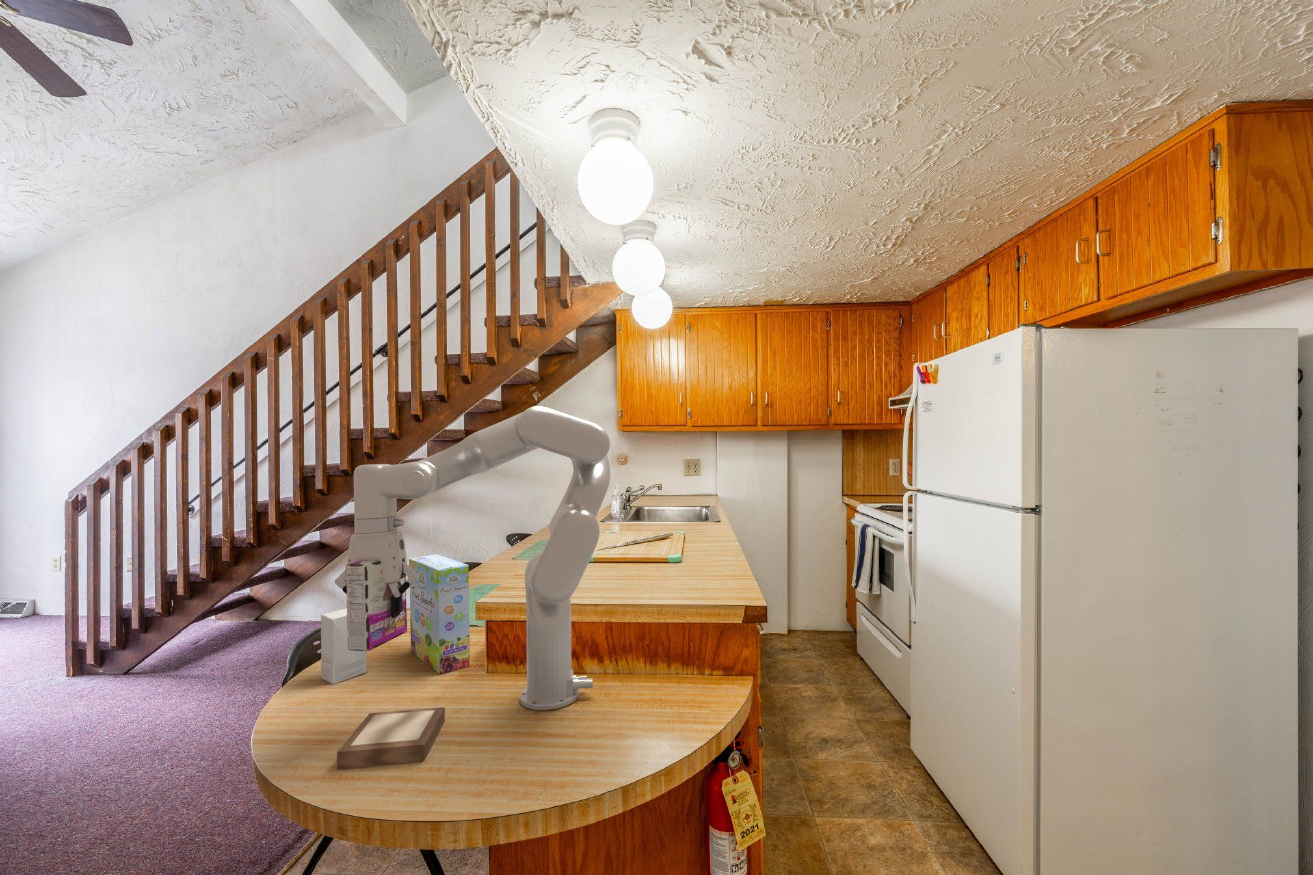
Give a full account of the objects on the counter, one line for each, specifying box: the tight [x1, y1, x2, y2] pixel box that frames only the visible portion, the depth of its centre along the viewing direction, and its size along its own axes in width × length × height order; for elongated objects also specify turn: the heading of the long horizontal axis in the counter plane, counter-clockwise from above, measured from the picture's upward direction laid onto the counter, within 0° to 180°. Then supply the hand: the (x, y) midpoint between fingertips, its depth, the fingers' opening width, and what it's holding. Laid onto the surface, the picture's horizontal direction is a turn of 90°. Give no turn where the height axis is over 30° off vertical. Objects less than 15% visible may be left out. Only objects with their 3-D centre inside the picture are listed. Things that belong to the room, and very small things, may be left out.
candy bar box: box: [345, 561, 408, 652], centre depth 106 cm, size 11×5×16 cm, turn 168°
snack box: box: [408, 553, 471, 675], centre depth 139 cm, size 22×9×26 cm, turn 43°
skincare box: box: [320, 607, 368, 685], centre depth 129 cm, size 8×7×16 cm
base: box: [336, 706, 446, 770], centre depth 98 cm, size 14×14×3 cm
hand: (377, 616), depth 106 cm, fingers closed on candy bar box, 6 cm apart
